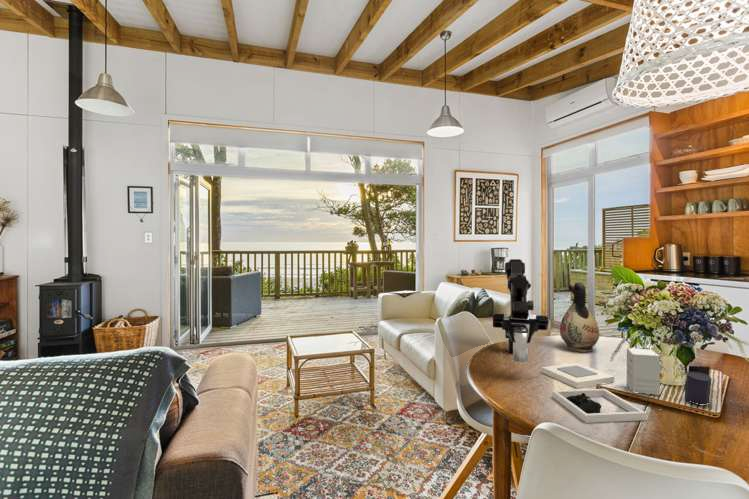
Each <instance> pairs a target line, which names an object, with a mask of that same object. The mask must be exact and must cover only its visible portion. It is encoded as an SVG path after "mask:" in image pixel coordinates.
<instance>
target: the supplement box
mask: <svg viewBox="0 0 749 499" xmlns="http://www.w3.org/2000/svg"><path fill="white" fill-rule="evenodd" d="M660 359H661V356H660V355H659V354H658V353H657V352H656V351H654V350H653V349H646V348H645V349H643V348H632V347H631V348H630V347H629V348H628V347H627V348H626V386H627V385H628V386H629V387H630V388H631V389H632V391H634V392H638V393H637V394H639V393H645V394H644V395H650V394H654V395H653V396H660V395H661V394H660V393H661V392H660V391H661V389H660V387H661V386H660V385H661V383H660V382H661V380H660V378H661V371H660V370H661V368H660V367H661V365H660V364H661V360H660ZM628 386H627V387H628ZM629 387H628V388H629ZM630 388H629V389H630ZM632 391H631V392H632Z"/></svg>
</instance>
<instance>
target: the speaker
mask: <svg viewBox="0 0 749 499" xmlns="http://www.w3.org/2000/svg"><path fill="white" fill-rule="evenodd" d="M710 368H711V366H706V365H705V366H702V365H688V369H687V372H686V378H685V381H684V399H685V401H687V400H688V401H687V402H689V401H691V402H694V403H698V404H707V403H709V404H710V398H711V389H712V377H711V376H710ZM691 402H690V403H691Z"/></svg>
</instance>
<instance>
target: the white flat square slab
mask: <svg viewBox="0 0 749 499" xmlns="http://www.w3.org/2000/svg"><path fill="white" fill-rule="evenodd" d="M541 373H542V374H544V375H546V376H549V377H551V378H553V379H555V380H558V381H559V382H562V383H565V384H566V385H569V386H570V387H573V388H575V389H576V390H579V389H585V388H588V387H589V388H591V387H596V386H598V385H597V384H602V383H609V382H614V383H615V376H614V375H611V374H608V373H605V372H603V371H601V370H597V369H595V368H593V367H590V366H587V365H583V364H581V363H579V362H570V363H565V364H558V365H557V364H556V365H550V366H542V367H541ZM609 384H610V383H609ZM602 385H603V384H602Z"/></svg>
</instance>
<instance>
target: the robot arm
mask: <svg viewBox="0 0 749 499" xmlns="http://www.w3.org/2000/svg"><path fill="white" fill-rule="evenodd" d="M525 273H526V264H525V262H523V261H522V259H520V258H519V259H515V258H511V259H509V261H508V262H506V263H504V274H506V280H507V285H506V286H507V290H508V291H509V294H510V295H509V296H510V298H509V299H510V315H509V316H508V315H507V316H506V315H505V313H493V314H492V327H493V328H498V329H502V330H503V331H504V334H505V339H508V348H505V351H507V352H508V353H510V354H511V355H513V328H514V327H523V328H527V329H528V344H531V340H532V338H533V335H534V334H535V332H538V331H547V330H548V329H549V328H548V327H549V322H550V320H549V317H548V316H547V315H540V314H536V316H535V318H529V315H530V314H529V312H530V311H534V307H535V306H534V300H527V295H528V290H530V289H531V285H532V284H531V283H530V282H529V280H528V279H527V276H526V275H525ZM527 325H528V326H529V328H528V327H527Z"/></svg>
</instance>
